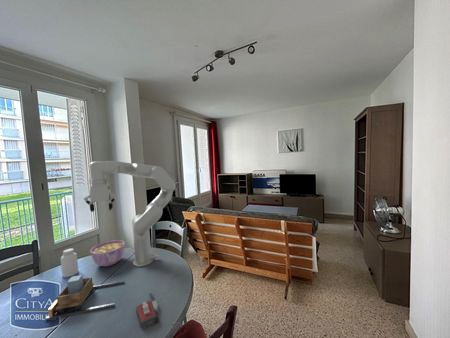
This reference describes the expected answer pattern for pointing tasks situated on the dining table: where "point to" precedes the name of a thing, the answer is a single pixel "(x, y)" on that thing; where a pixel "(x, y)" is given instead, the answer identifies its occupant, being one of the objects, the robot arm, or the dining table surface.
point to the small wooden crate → (74, 296)
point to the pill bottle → (69, 263)
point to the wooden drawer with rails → (53, 310)
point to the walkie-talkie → (147, 312)
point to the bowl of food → (108, 252)
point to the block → (75, 284)
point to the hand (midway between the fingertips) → (101, 210)
